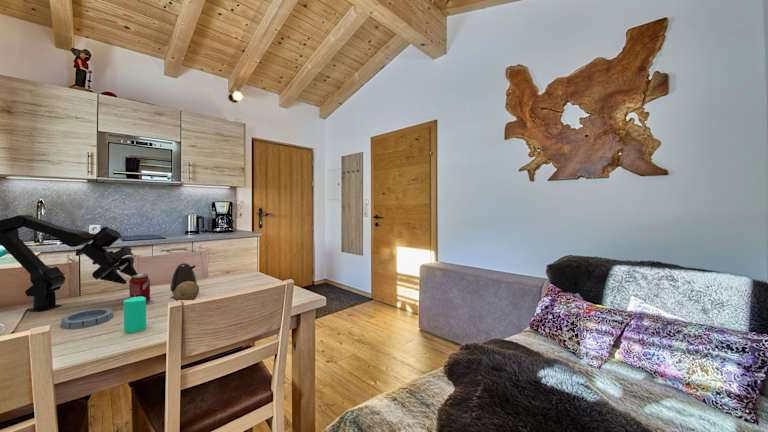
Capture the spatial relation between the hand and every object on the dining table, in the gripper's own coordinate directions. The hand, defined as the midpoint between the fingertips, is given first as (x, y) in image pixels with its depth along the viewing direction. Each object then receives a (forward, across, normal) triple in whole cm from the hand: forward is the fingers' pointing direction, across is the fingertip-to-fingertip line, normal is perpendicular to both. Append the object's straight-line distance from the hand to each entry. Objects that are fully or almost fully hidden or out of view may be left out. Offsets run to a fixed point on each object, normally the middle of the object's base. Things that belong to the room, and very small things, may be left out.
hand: (132, 280), depth 124 cm
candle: (+17, -28, -2) cm, 32 cm away
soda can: (+9, 0, +5) cm, 11 cm away
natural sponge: (+23, -5, -8) cm, 24 cm away
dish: (+3, -17, +11) cm, 21 cm away
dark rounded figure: (+19, +8, -4) cm, 21 cm away
